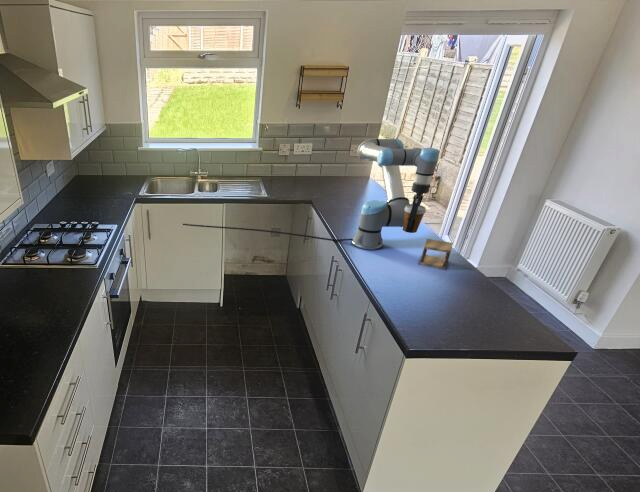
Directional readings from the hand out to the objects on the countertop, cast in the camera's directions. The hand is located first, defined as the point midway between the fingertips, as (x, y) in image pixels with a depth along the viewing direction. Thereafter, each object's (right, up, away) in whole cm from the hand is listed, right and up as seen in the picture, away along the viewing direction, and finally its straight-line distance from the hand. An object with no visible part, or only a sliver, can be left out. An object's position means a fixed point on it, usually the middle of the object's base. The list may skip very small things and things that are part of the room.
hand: (409, 229), depth 214 cm
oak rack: (+12, -16, +1) cm, 20 cm away
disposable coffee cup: (0, -1, 0) cm, 1 cm away
